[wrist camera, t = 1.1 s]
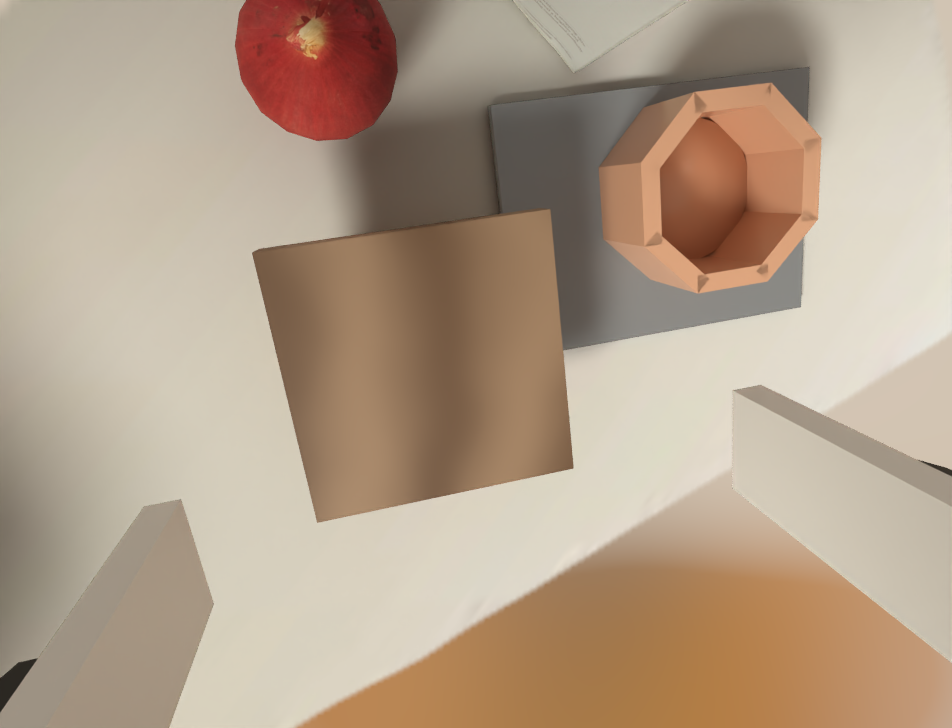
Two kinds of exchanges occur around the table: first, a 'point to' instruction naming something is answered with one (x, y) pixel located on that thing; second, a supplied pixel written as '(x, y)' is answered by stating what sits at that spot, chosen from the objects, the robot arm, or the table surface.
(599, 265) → the placemat
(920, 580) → the robot arm
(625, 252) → the bowl
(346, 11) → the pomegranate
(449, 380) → the board
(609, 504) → the table surface
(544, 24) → the skincare box
